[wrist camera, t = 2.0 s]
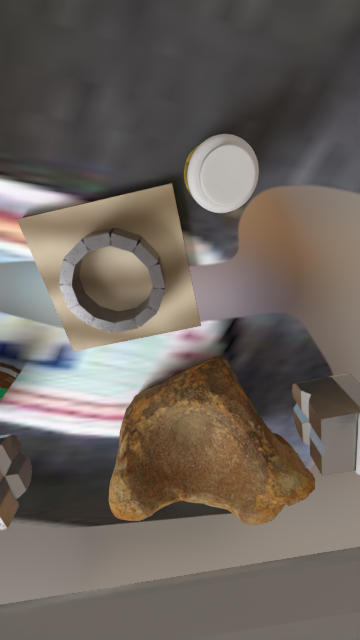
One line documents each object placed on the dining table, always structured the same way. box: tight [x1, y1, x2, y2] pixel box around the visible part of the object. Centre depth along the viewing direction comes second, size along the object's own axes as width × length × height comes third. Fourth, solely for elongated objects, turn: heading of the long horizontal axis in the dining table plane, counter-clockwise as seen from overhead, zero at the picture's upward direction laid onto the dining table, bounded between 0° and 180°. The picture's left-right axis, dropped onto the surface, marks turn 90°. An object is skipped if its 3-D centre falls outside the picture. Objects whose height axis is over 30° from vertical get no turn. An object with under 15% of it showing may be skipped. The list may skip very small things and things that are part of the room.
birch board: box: [17, 183, 201, 351], centre depth 34 cm, size 16×16×1 cm
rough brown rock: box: [109, 357, 315, 525], centre depth 36 cm, size 23×17×15 cm
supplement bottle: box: [184, 134, 259, 213], centre depth 26 cm, size 6×6×10 cm
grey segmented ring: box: [59, 228, 166, 333], centre depth 32 cm, size 10×10×3 cm
